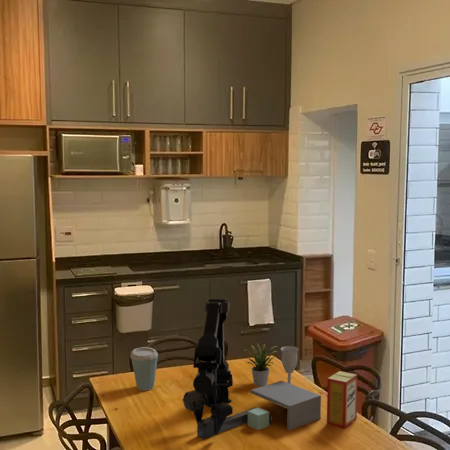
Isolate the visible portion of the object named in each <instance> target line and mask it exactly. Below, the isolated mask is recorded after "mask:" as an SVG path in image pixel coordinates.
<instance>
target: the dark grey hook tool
mask: <svg viewBox="0 0 450 450" xmlns="http://www.w3.org/2000/svg"><path fill="white" fill-rule="evenodd" d="M255 408H256V407H252V408H249V409H246V410H244V411H241V412H238V413H235V414H231V415H229V416H227V418H226V419H225V421H224V423H223V425H222V427H221V429H220V431H219V433H218V434H221V433H224V432H226V431H228V430H231V429H233V428H236V427H239V426H242V425H245V424H248V411H250V410H252V409H255ZM272 420H273V419H272V414H270V413H269V425H271V424H272V422H273V421H272ZM196 424H197V425H196V426H197V429H196V433H197V435H196V437H198V438H199V439H201V440H206V439H208V438H212V437H213V436H216V435H218V434H215V432H214V420H213V418H212V417H211V416H209V417H205V418H202V420H200V421H197V422H196Z"/></svg>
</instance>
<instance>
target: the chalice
mask: <svg viewBox="0 0 450 450" xmlns="http://www.w3.org/2000/svg"><path fill="white" fill-rule="evenodd" d="M280 351H281V364H282V366H283V369H284V371H285V373H287V374H288V375H287V377H286V378H287V383H289V384H292V382H291V379H292V375H291V374H292V373H294V371H295V370H296V369H295V368H296V367H297V364H298V352H299V347H297V346H292V345H290V346H289V345H287V346H282V347H281V348H280Z"/></svg>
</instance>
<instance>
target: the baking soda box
mask: <svg viewBox="0 0 450 450" xmlns="http://www.w3.org/2000/svg"><path fill="white" fill-rule="evenodd" d="M358 375H359V374H358V373H357V374H356V373H352V372H347V371H342V370H339V371H338V372H336V373H334V374H333V375H331V376H329V377H327V391H326V393H327V394H326V395H327V397H326V424H327V425H329V426H330V425H331V426H335V427H338V428H342V429H346V428H347V427H348V426H350V425H351V424H352V423H354V422H355V421H356V420H357V416H358V415H357V413H358V412H357V411H358Z"/></svg>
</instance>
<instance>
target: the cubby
mask: <svg viewBox="0 0 450 450" xmlns="http://www.w3.org/2000/svg"><path fill="white" fill-rule="evenodd" d="M287 382H288V381H287ZM287 382H286V381H284V380H278V381H276V382H272V383H270V384H267V385H265V386H258V387H256V388H252V389H250V394H252V395H254V396H256V397H260V398H261V399H264V400H265V401H269V402H271V403H273V404H275V405H278V406H280V407H283V408H285V409H287V410H286V411H287V418H286V421H287V422H286V424H287V425H286V427H287V428H286V429H287V431H292V430H294V429H297V428H300V427H302V426H305V425H307V424H311V423H313V422H315V421H318V420H321V413H322V412H321V411H322V410H321V409H322V408H321V407H322V401H321V400H322V397H321V396H322V395H320V394H318V393H315V392H313V391H310V390H308V389H306V388H303V387H299V386H297V385H294V384H292V383H291V384H289V383H287Z"/></svg>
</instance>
